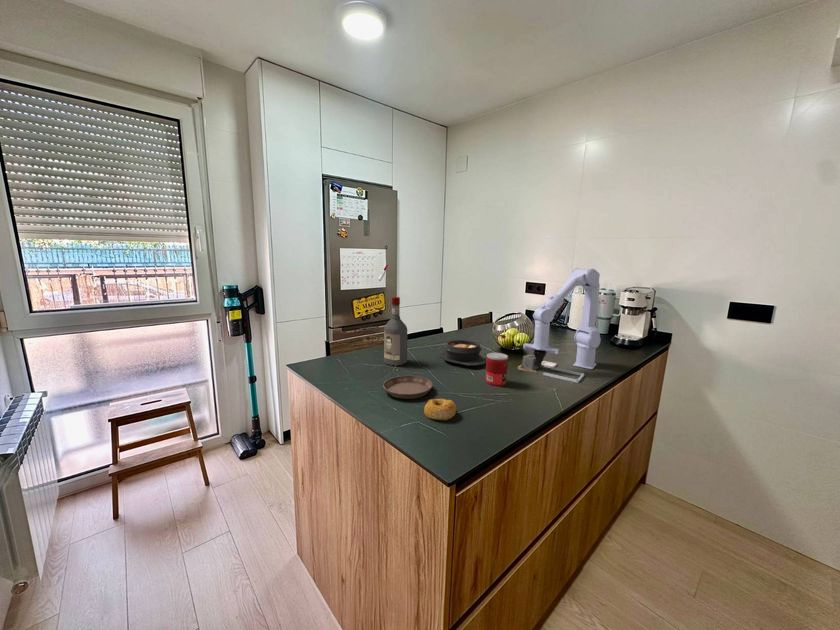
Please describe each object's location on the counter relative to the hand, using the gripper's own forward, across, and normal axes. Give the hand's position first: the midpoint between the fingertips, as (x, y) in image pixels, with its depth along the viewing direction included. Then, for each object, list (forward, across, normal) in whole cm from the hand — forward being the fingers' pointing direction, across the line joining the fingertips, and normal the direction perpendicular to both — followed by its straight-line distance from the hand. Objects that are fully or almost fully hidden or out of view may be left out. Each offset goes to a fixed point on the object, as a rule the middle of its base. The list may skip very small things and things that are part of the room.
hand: (539, 367), depth 143 cm
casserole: (+2, -32, -11) cm, 34 cm away
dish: (+1, +1, +9) cm, 9 cm away
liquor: (+1, -54, -33) cm, 63 cm away
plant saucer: (+2, -29, -54) cm, 61 cm away
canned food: (+2, -8, -26) cm, 27 cm away
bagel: (+2, -10, -60) cm, 61 cm away
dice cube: (+2, -4, +1) cm, 4 cm away
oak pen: (+1, -4, 0) cm, 4 cm away
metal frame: (+1, +10, 0) cm, 10 cm away
